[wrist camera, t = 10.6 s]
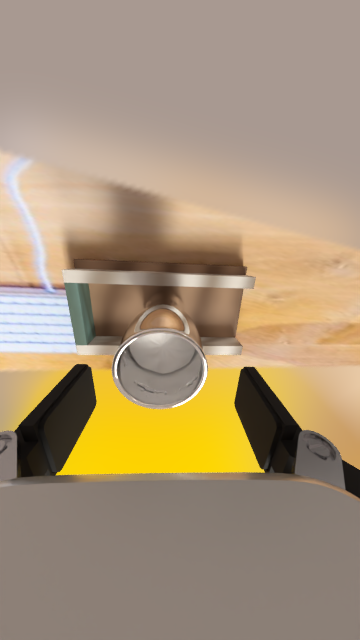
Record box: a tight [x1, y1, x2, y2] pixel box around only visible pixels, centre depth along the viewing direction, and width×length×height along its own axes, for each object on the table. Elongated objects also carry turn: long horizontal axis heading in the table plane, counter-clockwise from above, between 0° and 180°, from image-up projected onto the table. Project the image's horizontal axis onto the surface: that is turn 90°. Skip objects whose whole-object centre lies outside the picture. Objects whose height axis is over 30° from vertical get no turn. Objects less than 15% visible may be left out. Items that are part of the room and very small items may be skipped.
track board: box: [62, 259, 256, 355], centre depth 25 cm, size 24×14×4 cm, turn 87°
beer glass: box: [112, 292, 208, 409], centre depth 18 cm, size 7×7×15 cm
